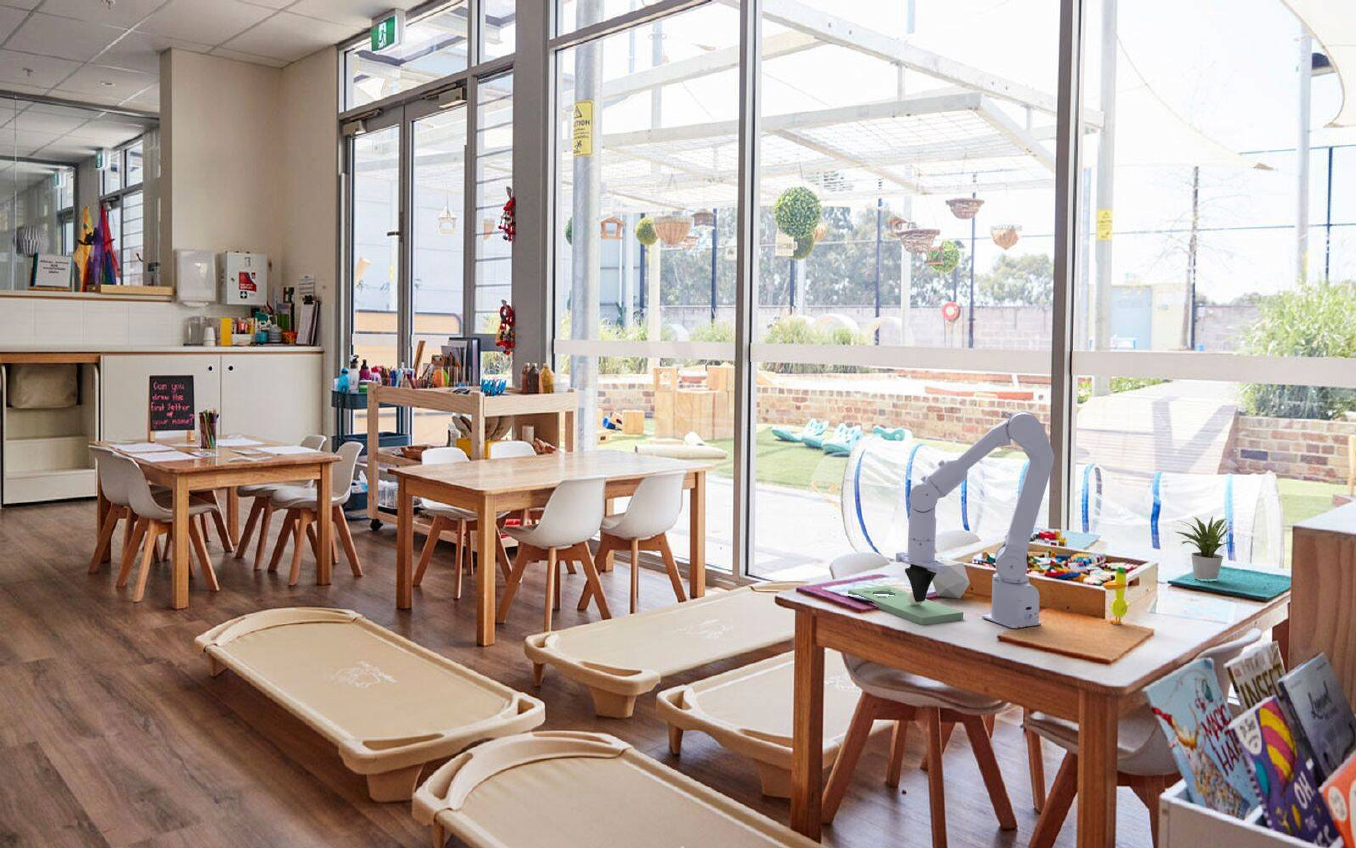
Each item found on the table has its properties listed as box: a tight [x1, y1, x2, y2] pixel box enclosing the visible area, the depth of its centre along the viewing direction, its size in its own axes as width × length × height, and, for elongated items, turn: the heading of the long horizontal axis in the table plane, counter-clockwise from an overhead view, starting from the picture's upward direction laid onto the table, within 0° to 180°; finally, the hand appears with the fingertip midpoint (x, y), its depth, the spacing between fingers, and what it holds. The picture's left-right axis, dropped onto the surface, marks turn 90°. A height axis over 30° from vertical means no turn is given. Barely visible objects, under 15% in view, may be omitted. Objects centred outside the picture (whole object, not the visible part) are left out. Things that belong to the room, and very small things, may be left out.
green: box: [847, 585, 964, 626], centre depth 238 cm, size 26×11×2 cm, turn 27°
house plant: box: [1176, 515, 1236, 580], centre depth 269 cm, size 14×14×16 cm
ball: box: [907, 589, 923, 606], centre depth 234 cm, size 4×4×4 cm
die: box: [931, 560, 971, 599], centre depth 248 cm, size 8×9×10 cm
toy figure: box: [1101, 566, 1130, 625], centre depth 226 cm, size 7×4×12 cm, turn 106°
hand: (919, 601), depth 233 cm, fingers closed, pressing on ball
